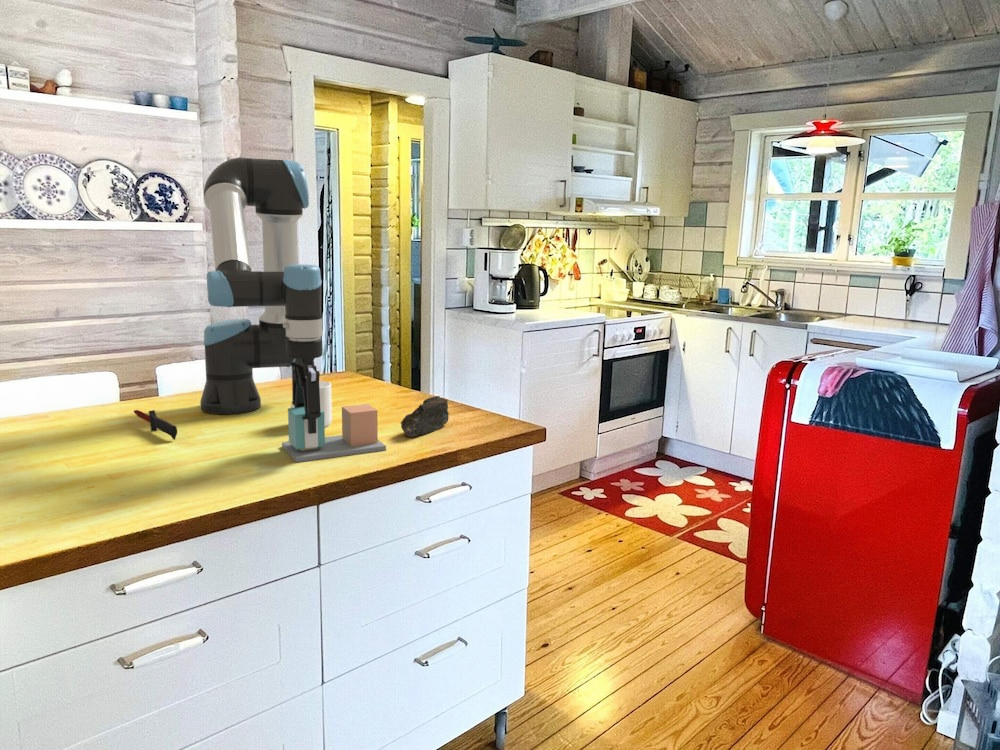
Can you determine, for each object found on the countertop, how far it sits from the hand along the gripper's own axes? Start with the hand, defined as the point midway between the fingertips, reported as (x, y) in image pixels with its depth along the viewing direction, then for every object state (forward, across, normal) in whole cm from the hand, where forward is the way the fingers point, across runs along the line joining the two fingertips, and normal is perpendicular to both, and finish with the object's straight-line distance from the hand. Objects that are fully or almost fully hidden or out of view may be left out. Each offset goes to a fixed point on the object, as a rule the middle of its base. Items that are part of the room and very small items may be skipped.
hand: (307, 442), depth 156 cm
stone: (+2, -5, +30) cm, 31 cm away
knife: (+2, -31, -28) cm, 42 cm away
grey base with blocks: (+2, 0, +6) cm, 6 cm away
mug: (+2, -20, +6) cm, 21 cm away
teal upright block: (0, 0, 0) cm, 0 cm away
